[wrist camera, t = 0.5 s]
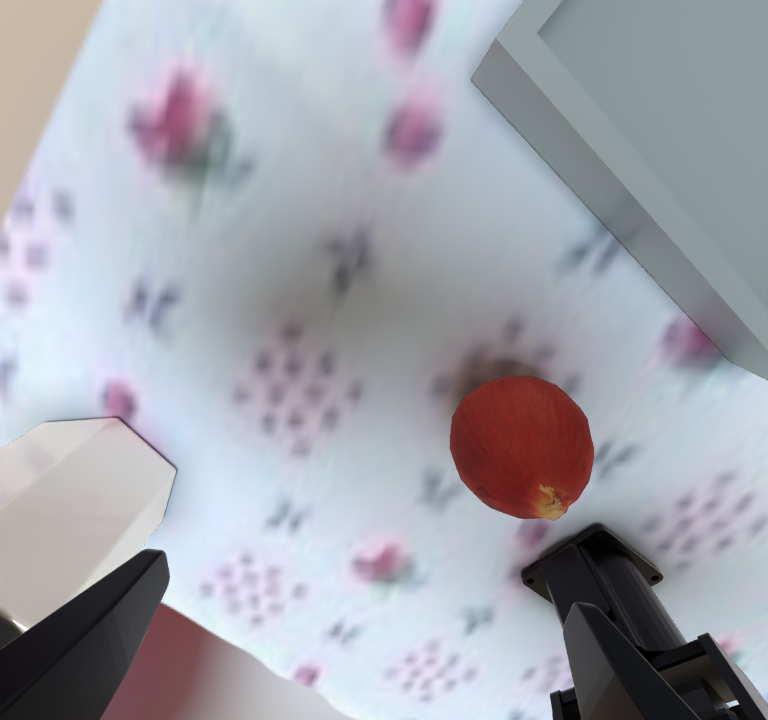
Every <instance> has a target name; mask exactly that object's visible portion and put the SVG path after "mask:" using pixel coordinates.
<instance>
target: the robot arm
mask: <svg viewBox="0 0 768 720" xmlns="http://www.w3.org/2000/svg"><path fill="white" fill-rule="evenodd" d="M521 578H522V581H523V584H524V585H526V586H527V587H529V588H530V589H531V590H533V591H534V592H536V593H537V594H539V595H540V596H542V597H543V598H545V599H546V600H548V601H549V602H551V603H552V604H554V607H555V610H556V612H557V615H558V617H559V620H560V623H561V625H562V628H563V636H564V641H565V646H566V650H567V655H568V659H569V664H570V668H571V673H572V677H573V682H574V686H575V687H572V688H570V689H567V690H565V691H562V692H561V691H560V690H558V691H556V692H553V693H550V699H551V705H552V711H553V713H552V715H553V720H768V704H767V703H766V701H765V700H764V699H763V697H762V696H761V695H760V693H759V692H758V691H757V689H756V688H755V687H754V685H753V684H752V683H751V681H750V680H749V679H748V677H747V676H746V675H745V674H744V673H743V671H742V670H741V669H740V668H739V667H738V666H737V665H736V664H735V662H734V661H733V660H732V659H731V658H730V657H729V656H728V655H727V653H726V652H725V651H724V650H723V649H722V648H721V647H720V646H719V644H718V643H717V642H716V641H715V640H714V639H713V638H712V637H711V635H710V634H709V633H705V634H703V635H700V636H698V637H697V638H698V639H697V640H695V641H692V642H689V643H687V642H686V640H685V639H684V637H683V636H682V634H681V633H680V631H679V630H678V628H677V627H676V625H675V623H674V622H673V620H672V619H671V617H670V616H669V614H668V613H667V611H666V610H665V608H664V606H663V605H662V603H661V602H660V600H659V599H658V597H657V596H656V594H655V593H654V591H653V589H652V588H651V586H653V585H655V584H657V583H659V582H660V581H661V580H662V579H663V575H662V574H661V572H660V571H659V570H658V568H656V567H655V566H654V565H653V564H651V563H650V562H649V561H647V560H646V559H645V558H644V557H642V556H641V555H640V554H639V553H637V552H636V551H635V550H634V549H632V548H631V547H630V546H628V545H627V544H626V543H625V542H623V541H622V540H621V539H620V538H618V537H617V536H616V535H614V534H613V533H612V532H611V531H609V530H608V529H607V528H606V527H604V526H602V525H595V526H593V527H591V528H590V529H588V530H587V531H585V532H584V533H582V534H581V535H579V536H577V537H576V538H574V539H573V540H571V541H570V542H568V543H567V544H565V545H564V546H562V547H561V548H559V549H558V550H556V551H555V552H553V553H552V554H550V555H549V556H547V557H546V558H544V559H542V560H541V561H539V562H538V563H536V564H535V565H533V566H532V567H530V568H529V569H527V570H526V571H524V572H523V573H522V574H521ZM169 579H170V574H169V568H168V562H167V557H166V553H165V552H164V551H163V550H156V549H145V550H142V551H141V552H139V553H138V554H136V555H135V556H133V557H132V558H130V559H129V560H128V561H126V562H125V563H123V564H122V565H120V566H119V567H117V568H116V569H115V570H113V571H112V572H110V573H109V574H107V575H106V576H105V577H103V578H102V579H100V580H99V581H97V582H96V583H94V584H93V585H92V586H90V587H89V588H87V589H86V590H84V591H83V592H81V593H80V594H79V595H77V596H76V597H74V598H73V599H71V600H70V601H68V602H67V603H66V604H64V605H63V606H61V607H60V608H58V609H57V610H56V611H54V612H53V613H51V614H50V615H48V616H47V617H45V618H44V619H43V620H41V621H40V622H38V623H37V624H35V625H34V626H32V627H31V628H30V629H28V630H27V631H25V632H24V633H22V634H21V635H19V636H18V637H17V638H15V639H14V640H12V641H11V642H9V643H8V644H6V645H5V646H4V647H2V648H1V649H0V720H100V719H101V717H102V715H103V714H104V712H105V710H106V708H107V707H108V705H109V703H110V701H111V700H112V698H113V696H114V694H115V693H116V691H117V689H118V687H119V686H120V684H121V682H122V680H123V679H124V677H125V675H126V673H127V671H128V669H129V668H130V666H131V664H132V661H133V659H134V657H135V655H136V653H137V651H138V649H139V647H140V645H141V643H142V641H143V638H144V636H145V634H146V632H147V630H148V628H149V626H150V623H151V621H152V619H153V617H154V615H155V613H156V611H157V608H158V606H159V604H160V602H161V600H162V598H163V596H164V593H165V591H166V589H167V587H168V584H169ZM734 700H737V701H738V703H739V705H736V706H733V707H730V708H729V707H728V705H727V704H726V703H728V702H731V701H734Z"/></svg>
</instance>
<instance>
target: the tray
mask: <svg viewBox="0 0 768 720" xmlns="http://www.w3.org/2000/svg"><path fill="white" fill-rule="evenodd" d="M471 81H472V82H473V83H474V84H475V85H476V86H477V87H478V88H479V90H480V91H481V92H482V93H483V94H484V95H485V96H486V97H487V98H488V99H489V100H490V102H491V103H492V104H493V105H494V106H495V107H496V108H497V109H498V110H499V111H500V112H501V113H502V115H503V116H504V117H505V118H506V119H507V120H508V121H509V122H510V123H511V124H512V125H513V126H514V128H515V129H516V130H517V131H518V132H519V133H520V134H521V135H522V136H523V137H524V138H525V140H526V141H527V142H528V143H529V144H530V145H531V146H532V147H533V148H534V149H535V150H536V151H537V153H538V154H539V155H540V156H541V157H542V158H543V159H544V160H545V161H546V162H547V163H548V165H549V166H550V167H551V168H552V169H553V170H554V171H555V172H556V173H557V174H558V175H559V176H560V178H561V179H562V180H563V181H564V182H565V183H566V184H567V185H568V186H569V187H570V188H571V189H572V191H573V192H574V193H575V194H576V195H577V196H578V197H579V198H580V199H581V200H582V201H583V203H584V204H585V205H586V206H587V207H588V208H589V209H590V210H591V211H592V212H593V213H594V214H595V216H596V217H597V218H598V219H599V220H600V221H601V222H602V223H603V224H604V225H605V226H606V228H607V229H608V230H609V231H610V232H611V233H612V234H613V235H614V236H615V237H616V238H617V239H618V241H619V242H620V243H621V244H622V245H623V246H624V247H625V248H626V249H627V250H628V251H629V252H630V254H631V255H632V256H633V257H634V258H635V259H636V260H637V261H638V262H639V263H640V264H641V266H642V267H643V268H644V269H645V270H646V271H647V272H648V273H649V274H650V275H651V276H652V277H653V279H654V280H655V281H656V282H657V283H658V284H659V285H660V286H661V287H662V288H663V289H664V291H665V292H666V293H667V294H668V295H669V296H670V297H671V298H672V299H673V300H674V301H675V302H676V304H677V305H678V306H679V307H680V308H681V309H682V310H683V311H684V312H685V313H686V314H687V315H688V317H689V318H690V319H691V320H692V321H693V322H694V323H695V324H696V325H697V326H698V327H699V329H700V330H701V331H702V332H703V333H704V334H705V335H706V336H707V337H708V338H709V339H710V340H711V342H712V343H713V344H714V345H715V346H716V347H717V348H718V349H719V350H720V351H721V352H722V354H723V355H724V356H725V357H726V358H727V359H728V360H729V361H730V362H731V363H733V364H735V365H737V366H739V367H741V368H743V369H746V370H748V371H750V372H752V373H754V374H756V375H758V376H760V377H762V378H764V379H766V380H768V0H524V1H523V3H522V4H521V5H520V7H519V8H518V9H517V11H516V12H515V13H514V15H513V16H512V17H511V19H510V20H509V21H508V23H507V24H506V25H505V27H504V28H503V29H502V30H501V32H500V33H499V34H498V36H497V37H496V39H495V40H494V42H493V44H492V45H491V47H490V49H489V50H488V52H487V54H486V55H485V57H484V59H483V60H482V62H481V64H480V65H479V67H478V69H477V70H476V72H475V74H474V75H473V77H472V79H471Z"/></svg>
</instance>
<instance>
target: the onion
mask: <svg viewBox="0 0 768 720" xmlns="http://www.w3.org/2000/svg"><path fill="white" fill-rule="evenodd" d="M450 450H451V453H452V456H453V459H454V462H455V465H456V468H457V471H458V473H459V476H460V478H461V480H462V481H463V482H464V483H465V485H466V486H467V487H468V488H469V489H470V490H471V491H472V492H473V493H474V494H475V495H476V496H477V497H478V498H479V499H480V500H481V501H482V502H483V503H485V504H486V505H487V506H489V507H490V508H493V509H495V510H498V511H500V512H503V513H506V514H508V515H511V516H514V517H517V518H521V519H534V518H546V519H550V520H556V519H558V518H560V517H561V516H562V515H563V514H564V513H566V512H567V509H568V507H569V506H570V505H571V504H572V503H574V502H575V501H576V500H578V498H579V496H580V495H581V493H582V492H583V490H584V488H585V487H586V485H587V484H588V482H589V479H590V476H591V471H592V465H593V460H594V446H593V442H592V438H591V434H590V430H589V424H588V419H587V418H586V416H585V414H584V413H583V411H582V410H581V408H580V407H579V406H578V405H577V404H576V403H575V402H574V401H573V400H572V399H571V398H570V397H569V396H568V395H567V394H566V393H565V392H564V391H563V390H561V389H560V388H559V387H558V386H556V385H555V384H552V383H549V382H547V381H544V380H541V379H539V378H536V377H531V376H505V377H502V378H498V379H495V380H492V381H489V382H485V383H484V384H483V385H481V386H480V387H478V388H477V389H475V390H474V391H472V392H471V393H470V394H468V395H467V396H465V397H464V398H463V400H462V401H461V403H460V405H459V407H458V408H457V410H456V412H455V414H454V415H453V417H452V425H451V434H450Z"/></svg>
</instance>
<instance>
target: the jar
mask: <svg viewBox="0 0 768 720" xmlns="http://www.w3.org/2000/svg"><path fill="white" fill-rule="evenodd" d="M175 474H176V469H175V468H174V467H173V466H172V465H171V464H169V463H168V462H167V461H166V460H165V459H164V458H163V457H161V456H160V455H159V454H158V453H157V452H156V451H155V450H153V449H152V448H151V447H150V446H149V445H148V444H147V443H146V442H144V441H143V440H142V439H141V438H140V437H139V436H138V435H136V434H135V433H134V432H133V431H132V430H131V429H130V428H129V427H127V426H126V425H125V424H124V423H123V422H122V421H121V420H119V419H118V418H103V419H88V420H73V421H58V422H44V423H42V424H40V425H38V426H37V427H35V428H34V429H32V430H30V431H29V432H27V433H26V434H24V435H23V436H21V437H19V438H18V439H16V440H15V441H13V442H11V443H10V444H8V445H7V446H5V447H3V448H2V449H0V649H1V648H2V647H4V646H5V645H6V644H8V643H9V642H11V641H12V640H14V639H15V638H17V637H18V636H19V635H21V634H22V633H24V632H25V631H27V630H28V629H30V628H31V627H32V626H34V625H35V624H37V623H38V622H40V621H41V620H43V619H44V618H45V617H47V616H48V615H50V614H51V613H53V612H54V611H56V610H57V609H58V608H60V607H61V606H63V605H64V604H66V603H67V602H68V601H70V600H71V599H73V598H74V597H76V596H77V595H79V594H80V593H81V592H83V591H84V590H86V589H87V588H89V587H90V586H92V585H93V584H94V583H96V582H97V581H99V580H100V579H102V578H103V577H105V576H106V575H107V574H109V573H110V572H112V571H113V570H115V569H116V568H117V567H119V566H120V565H122V564H123V563H125V562H126V561H128V560H129V559H130V558H132V557H133V556H135V555H136V554H138V553H139V551H140V550H141V549H142V547H143V546H144V545H145V543H146V542H147V541H148V539H149V538H150V536H151V535H152V534H153V532H154V531H155V530H156V528H157V527H158V526H159V524H160V523H161V522H162V520H163V517H164V514H165V510H166V506H167V503H168V499H169V496H170V492H171V488H172V485H173V481H174V478H175Z"/></svg>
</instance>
